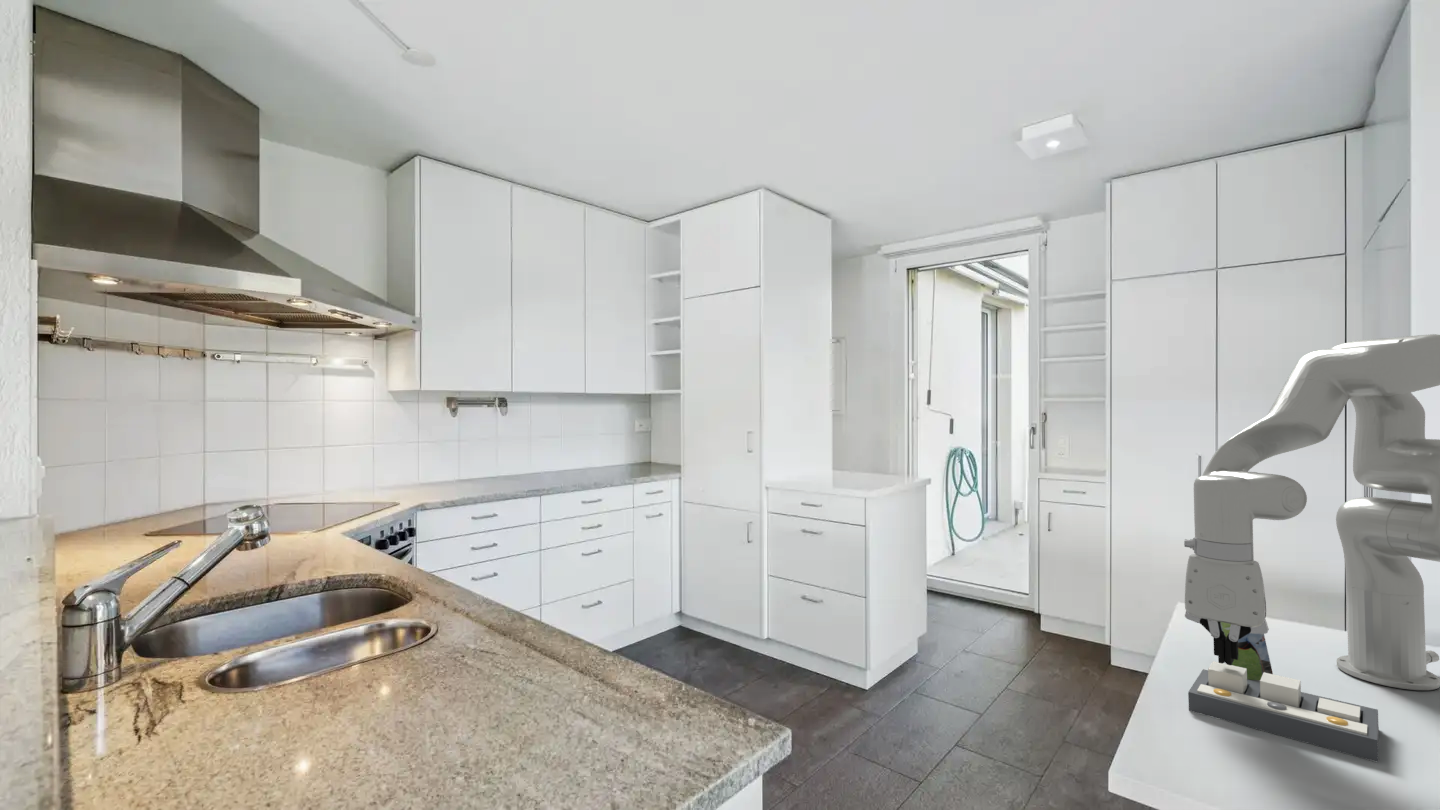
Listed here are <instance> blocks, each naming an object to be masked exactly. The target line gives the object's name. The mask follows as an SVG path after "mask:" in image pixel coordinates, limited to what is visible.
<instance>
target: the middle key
mask: <svg viewBox="0 0 1440 810" xmlns="http://www.w3.org/2000/svg"><path fill="white" fill-rule="evenodd" d="M1301 683H1302V682H1301V679H1296V678H1291V677H1287V676H1282V675H1277V674H1274V673H1273V674H1269V673H1265V672H1263V675H1262V677H1261V680H1260V698H1262V699H1266V700H1270V701H1274V702H1278V703H1282V704H1286V705H1291V706H1295V707H1299V706H1300V702H1301V692H1302V688H1301V687H1302V686H1301V685H1302V684H1301Z"/></svg>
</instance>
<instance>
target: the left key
mask: <svg viewBox="0 0 1440 810" xmlns="http://www.w3.org/2000/svg"><path fill="white" fill-rule="evenodd" d="M1207 670H1208V682H1209V686H1213V687H1217V688H1221V689H1225V690H1229V691H1233V692H1237V693H1242V694H1244V693H1245V691H1246V689H1247V668H1242V667H1237V666H1233V665H1227V664H1226V663H1223V664H1222V663H1219V661H1214V660H1213V661H1212V662H1211V663H1210V665H1209V667H1208V669H1207Z"/></svg>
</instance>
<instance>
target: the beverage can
mask: <svg viewBox="0 0 1440 810" xmlns="http://www.w3.org/2000/svg"><path fill="white" fill-rule="evenodd" d="M1221 626H1222V630H1223V632H1224V635H1225V636H1227V635H1228V634H1229V632H1230V627H1231V624H1229V623H1224V622H1221ZM1232 665H1233V666H1237V667H1242V668H1247V679H1248V680H1252V681H1256V682H1260V680H1261V677H1262V675H1263V672H1265V673H1269V674H1274V673H1273V668H1272V664H1271V659H1270V655H1269V651H1268V646H1267V641H1266V637H1265V634H1253V633H1249V634H1247V635H1246V636H1244V637H1242V638H1241V639H1239V640H1238V660H1235V659H1234V661H1233V663H1232Z"/></svg>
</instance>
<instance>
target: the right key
mask: <svg viewBox="0 0 1440 810" xmlns="http://www.w3.org/2000/svg"><path fill="white" fill-rule="evenodd" d="M1317 710H1318V712H1319V713H1323V714H1327V715H1331V716H1335V717H1339V718H1344V719H1348V720H1352V721H1356V722H1360V723H1361V715H1360V707H1358V706H1354V705H1350V704H1345V703H1341V702H1337V701H1332V700H1328V699H1324V698H1319V702H1318V707H1317Z"/></svg>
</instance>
